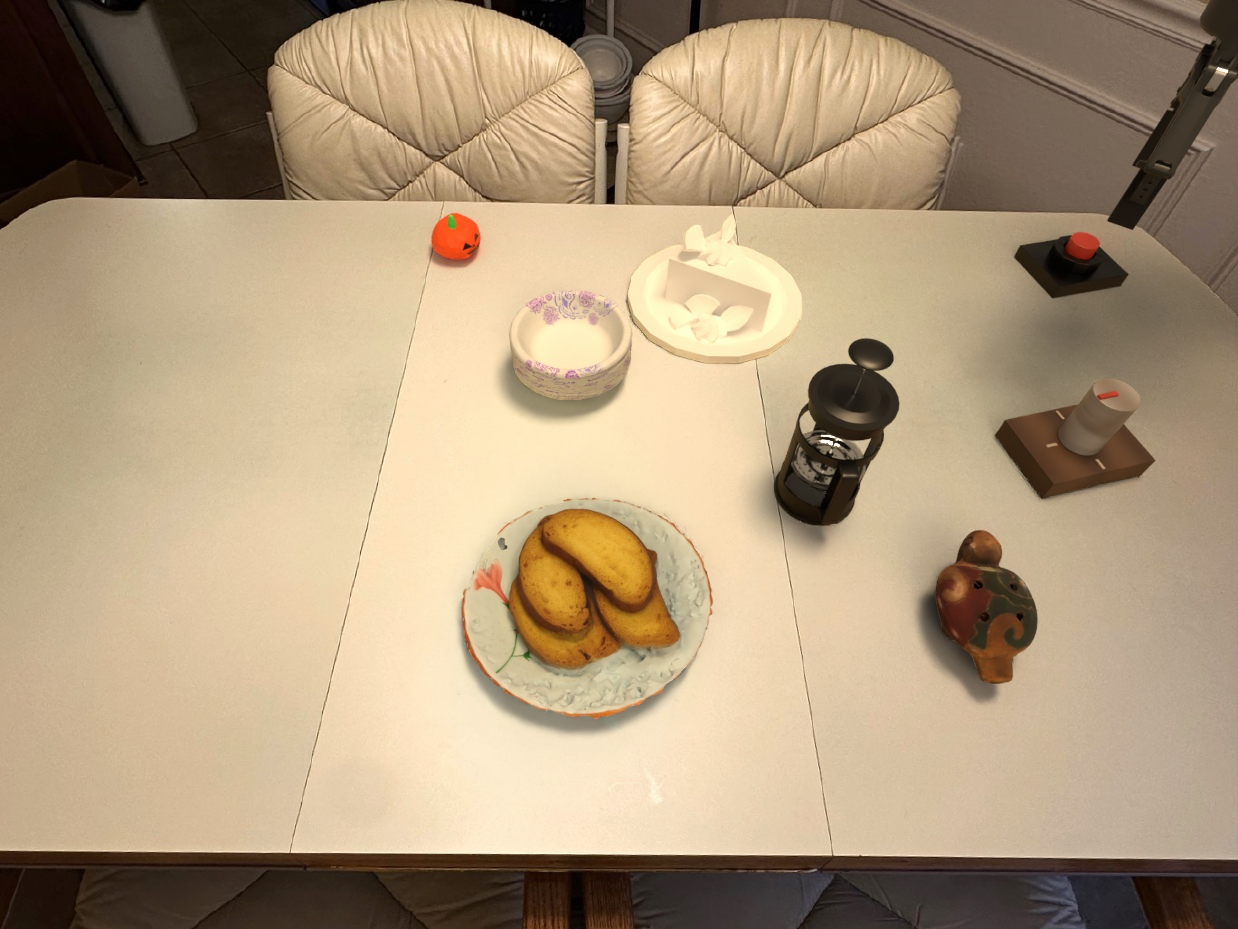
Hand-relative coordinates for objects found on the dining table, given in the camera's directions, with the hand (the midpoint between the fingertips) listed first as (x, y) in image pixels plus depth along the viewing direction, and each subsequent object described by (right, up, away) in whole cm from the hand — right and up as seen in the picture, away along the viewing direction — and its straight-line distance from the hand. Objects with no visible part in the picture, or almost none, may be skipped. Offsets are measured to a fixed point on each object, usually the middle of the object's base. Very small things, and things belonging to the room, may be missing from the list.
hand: (1132, 195), depth 85 cm
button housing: (+10, -1, +29) cm, 30 cm away
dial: (-3, -28, +5) cm, 28 cm away
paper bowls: (-65, -19, +13) cm, 69 cm away
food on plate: (-62, -46, -7) cm, 77 cm away
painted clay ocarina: (-22, -48, -7) cm, 53 cm away
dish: (-45, -7, +23) cm, 51 cm away
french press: (-36, -35, +2) cm, 50 cm away
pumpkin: (-83, +1, +28) cm, 87 cm away
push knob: (+10, +1, +26) cm, 28 cm away
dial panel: (-3, -30, +7) cm, 31 cm away
